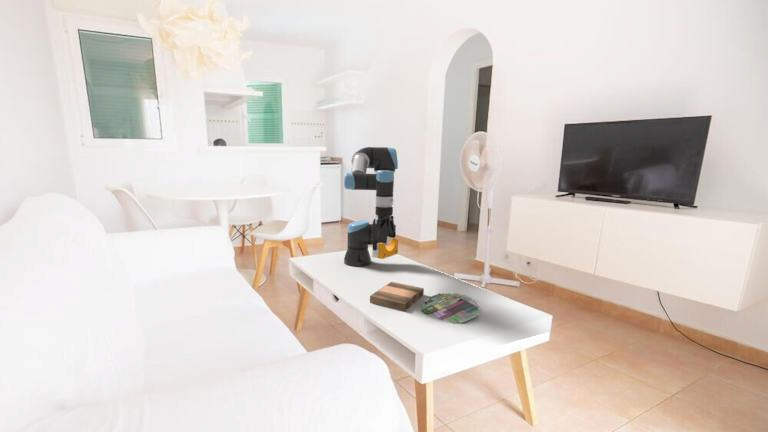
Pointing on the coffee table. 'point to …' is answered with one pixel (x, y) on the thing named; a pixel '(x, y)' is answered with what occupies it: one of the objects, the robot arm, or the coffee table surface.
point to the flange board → (397, 296)
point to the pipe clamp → (388, 249)
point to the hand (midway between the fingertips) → (382, 254)
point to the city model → (451, 307)
